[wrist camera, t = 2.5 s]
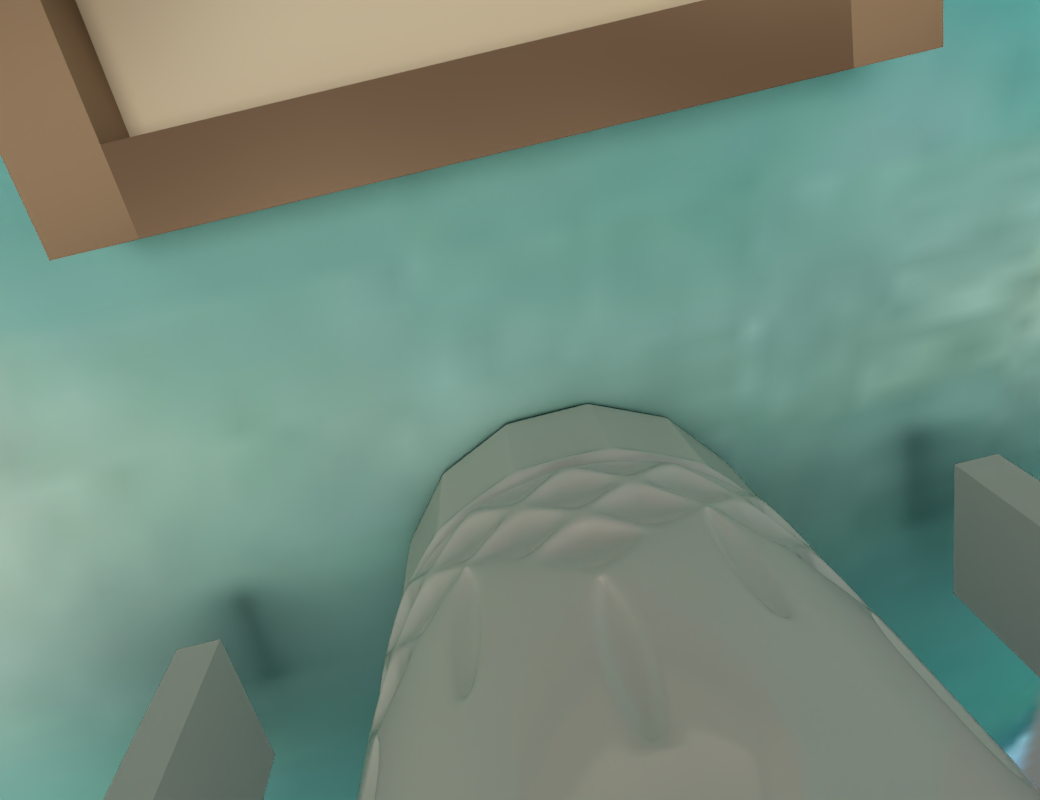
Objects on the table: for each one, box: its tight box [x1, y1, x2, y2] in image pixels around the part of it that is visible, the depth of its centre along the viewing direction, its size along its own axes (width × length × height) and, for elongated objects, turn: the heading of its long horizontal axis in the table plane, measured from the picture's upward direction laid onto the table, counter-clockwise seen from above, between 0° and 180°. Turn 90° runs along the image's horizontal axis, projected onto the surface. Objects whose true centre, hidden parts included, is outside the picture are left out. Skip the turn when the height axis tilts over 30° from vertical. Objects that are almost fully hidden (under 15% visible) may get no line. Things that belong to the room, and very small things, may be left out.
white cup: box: [357, 404, 1040, 800], centre depth 10 cm, size 8×8×10 cm
